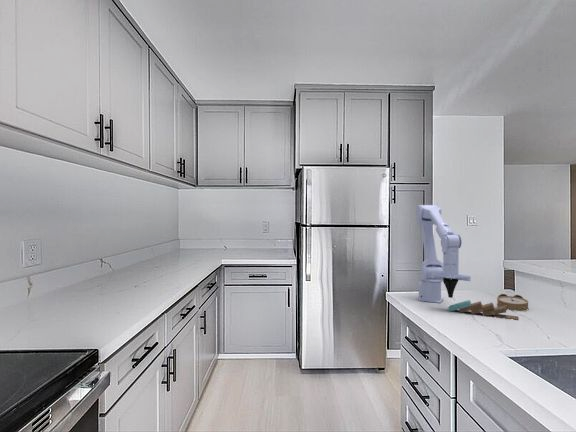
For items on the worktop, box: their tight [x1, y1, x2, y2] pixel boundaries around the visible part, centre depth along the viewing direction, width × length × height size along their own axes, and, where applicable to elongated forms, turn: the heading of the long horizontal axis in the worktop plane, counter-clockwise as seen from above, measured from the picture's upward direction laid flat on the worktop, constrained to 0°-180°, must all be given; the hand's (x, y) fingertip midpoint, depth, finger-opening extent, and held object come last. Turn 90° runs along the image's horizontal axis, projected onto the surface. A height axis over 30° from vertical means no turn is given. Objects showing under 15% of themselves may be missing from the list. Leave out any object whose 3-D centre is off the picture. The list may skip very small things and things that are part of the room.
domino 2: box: [470, 302, 495, 315], centre depth 146 cm, size 2×4×8 cm
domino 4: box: [493, 313, 519, 321], centre depth 141 cm, size 2×4×8 cm
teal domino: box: [448, 299, 472, 312], centre depth 150 cm, size 2×4×8 cm
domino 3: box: [481, 306, 507, 317], centre depth 144 cm, size 2×4×8 cm
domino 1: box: [458, 301, 483, 314], centre depth 148 cm, size 2×4×8 cm
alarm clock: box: [496, 293, 529, 312], centre depth 158 cm, size 11×5×15 cm
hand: (450, 297), depth 152 cm, fingers closed
